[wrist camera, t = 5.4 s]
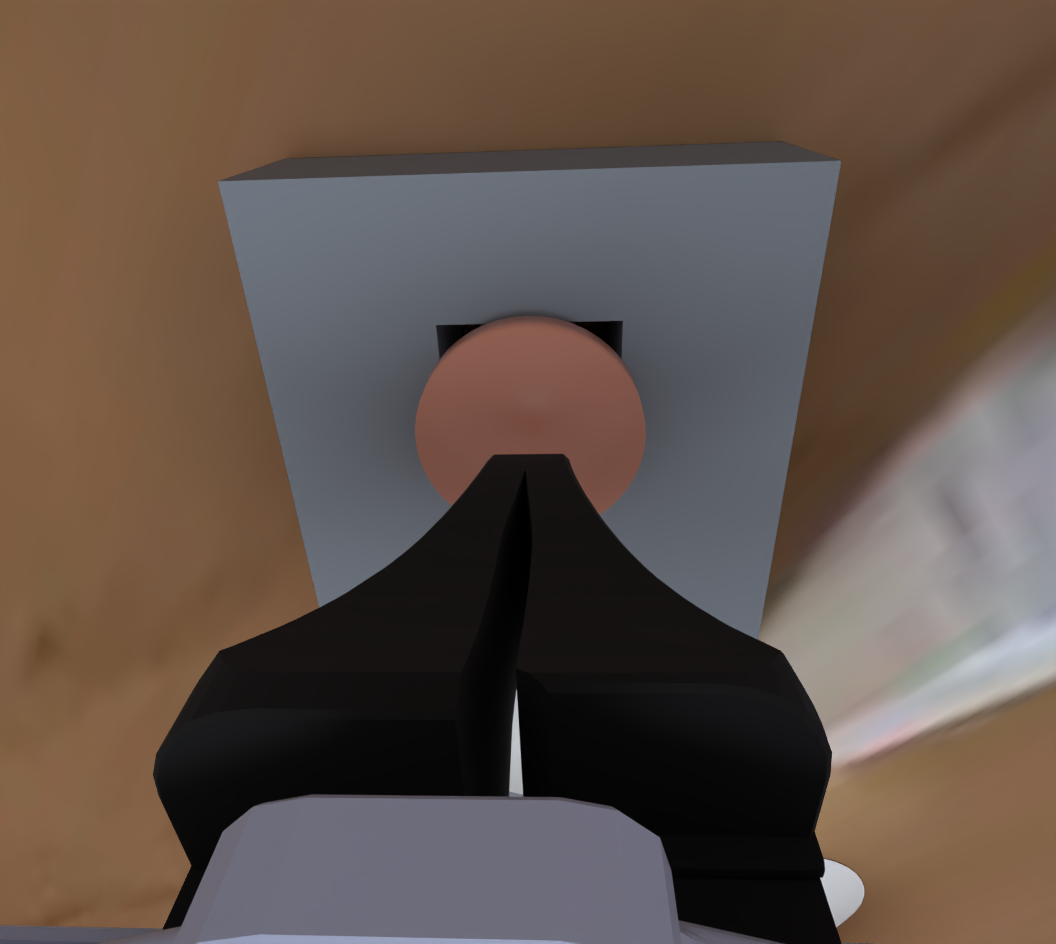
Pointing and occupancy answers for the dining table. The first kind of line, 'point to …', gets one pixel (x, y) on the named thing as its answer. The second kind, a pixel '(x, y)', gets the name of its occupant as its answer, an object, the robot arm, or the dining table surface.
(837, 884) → the champagne flute
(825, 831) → the dining table surface
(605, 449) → the red plunger
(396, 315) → the panel
